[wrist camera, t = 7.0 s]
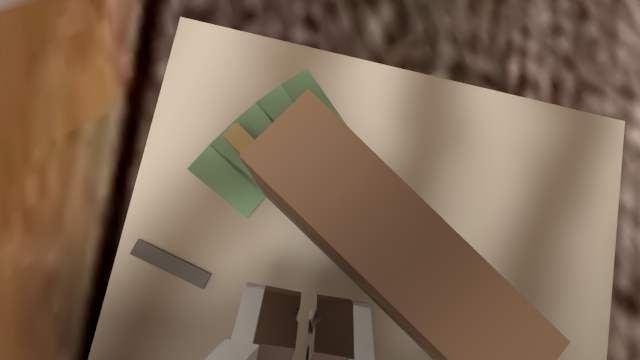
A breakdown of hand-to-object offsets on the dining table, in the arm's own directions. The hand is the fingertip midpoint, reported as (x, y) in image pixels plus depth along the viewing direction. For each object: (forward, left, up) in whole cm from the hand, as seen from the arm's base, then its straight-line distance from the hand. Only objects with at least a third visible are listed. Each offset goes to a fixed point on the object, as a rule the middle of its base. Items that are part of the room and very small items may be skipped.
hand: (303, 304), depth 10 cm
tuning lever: (-5, 0, -3) cm, 6 cm away
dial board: (-3, 0, -5) cm, 6 cm away
